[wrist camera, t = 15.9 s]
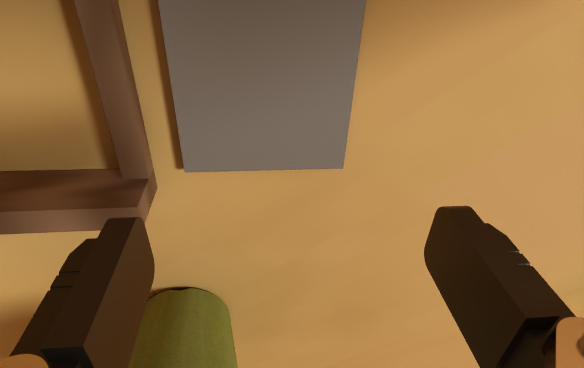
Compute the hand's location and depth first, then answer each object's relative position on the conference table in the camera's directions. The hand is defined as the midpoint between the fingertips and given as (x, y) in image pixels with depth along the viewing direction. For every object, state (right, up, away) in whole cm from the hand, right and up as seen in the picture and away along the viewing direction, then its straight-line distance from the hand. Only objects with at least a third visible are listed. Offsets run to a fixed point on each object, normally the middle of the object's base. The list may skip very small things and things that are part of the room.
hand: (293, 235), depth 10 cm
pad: (-2, +7, +10) cm, 13 cm away
